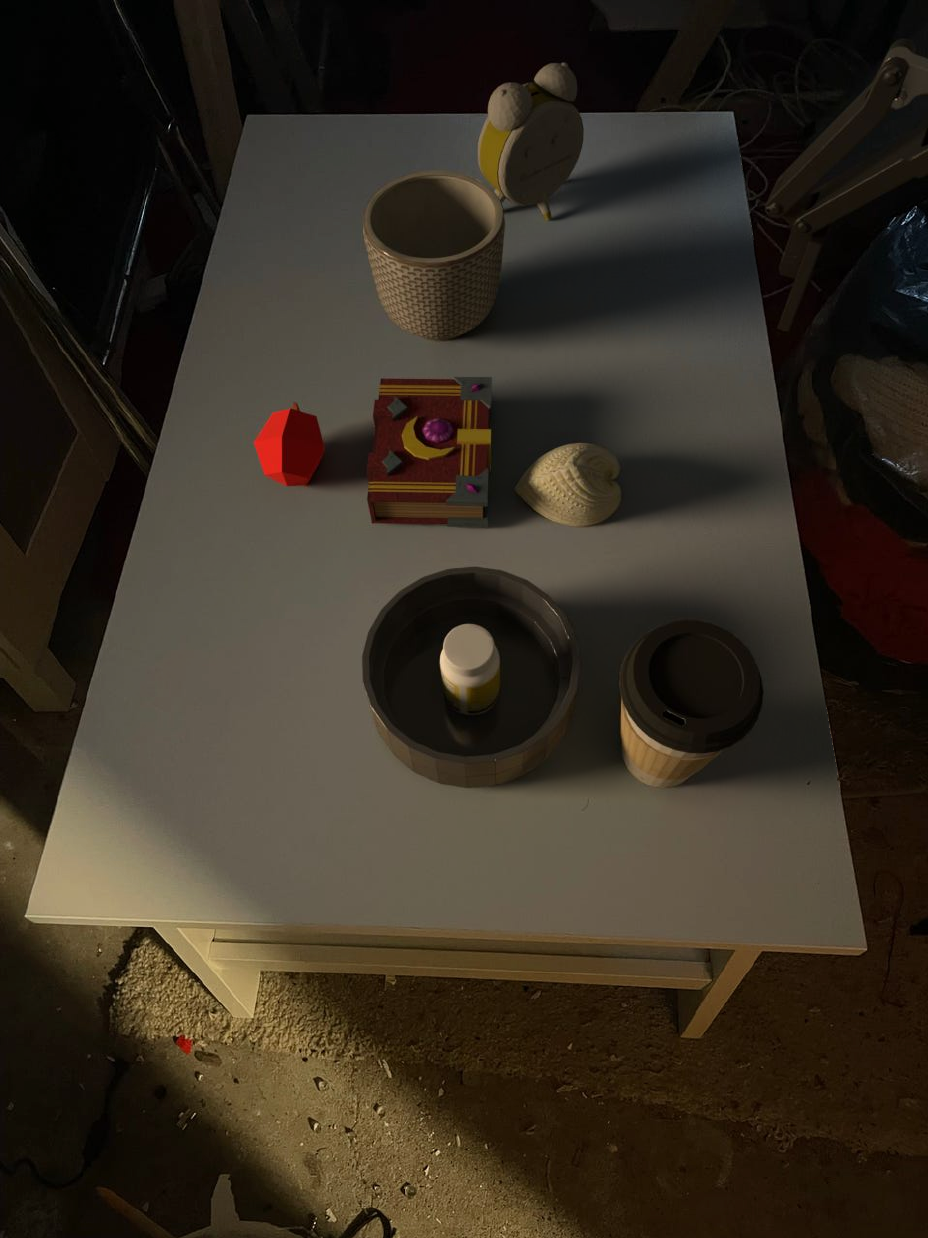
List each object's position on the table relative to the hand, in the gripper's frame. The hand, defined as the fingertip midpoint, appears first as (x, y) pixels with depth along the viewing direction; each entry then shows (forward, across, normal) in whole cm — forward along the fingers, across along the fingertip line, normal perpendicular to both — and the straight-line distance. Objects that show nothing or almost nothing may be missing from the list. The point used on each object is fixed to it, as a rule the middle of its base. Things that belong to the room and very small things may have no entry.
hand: (896, 347), depth 55 cm
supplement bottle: (+28, -20, -21) cm, 40 cm away
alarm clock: (+29, -40, +39) cm, 63 cm away
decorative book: (+29, -34, 0) cm, 45 cm away
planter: (+29, -42, +18) cm, 54 cm away
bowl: (+29, -20, -21) cm, 41 cm away
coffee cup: (+29, -4, -19) cm, 35 cm away
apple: (+29, -46, -6) cm, 55 cm away
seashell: (+29, -20, +2) cm, 35 cm away
